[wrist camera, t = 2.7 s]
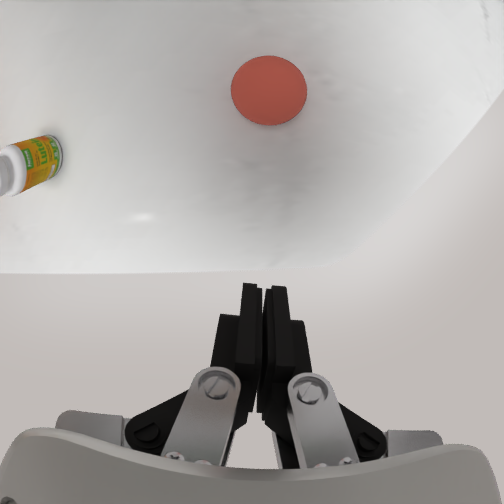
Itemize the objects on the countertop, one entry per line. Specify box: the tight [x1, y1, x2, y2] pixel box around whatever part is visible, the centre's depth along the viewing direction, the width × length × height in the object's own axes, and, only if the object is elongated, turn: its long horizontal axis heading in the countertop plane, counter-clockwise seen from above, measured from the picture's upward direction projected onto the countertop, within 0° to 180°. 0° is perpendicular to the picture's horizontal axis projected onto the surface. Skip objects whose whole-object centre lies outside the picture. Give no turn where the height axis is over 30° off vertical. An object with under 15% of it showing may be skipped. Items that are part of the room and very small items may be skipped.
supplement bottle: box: [0, 135, 62, 196], centre depth 20 cm, size 5×5×10 cm
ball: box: [231, 56, 307, 125], centre depth 19 cm, size 6×6×6 cm
